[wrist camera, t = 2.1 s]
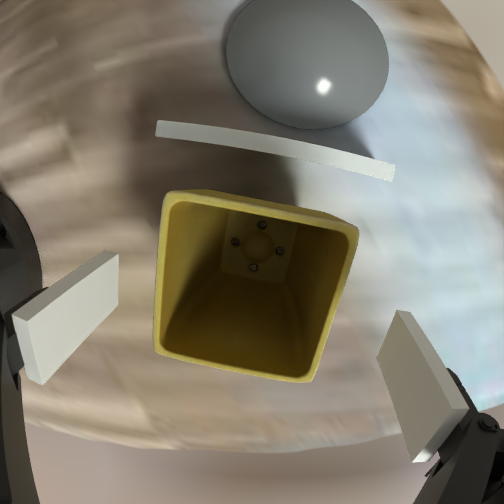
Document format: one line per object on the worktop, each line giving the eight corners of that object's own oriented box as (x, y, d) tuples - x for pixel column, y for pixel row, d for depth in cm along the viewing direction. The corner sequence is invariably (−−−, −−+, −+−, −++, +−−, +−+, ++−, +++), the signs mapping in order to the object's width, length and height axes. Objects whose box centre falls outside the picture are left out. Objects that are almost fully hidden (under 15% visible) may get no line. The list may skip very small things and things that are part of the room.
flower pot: (207, 171, 22) (162, 188, 13) (331, 196, 22) (363, 228, 13) (191, 285, 25) (151, 353, 16) (302, 308, 24) (311, 385, 16)
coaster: (214, 114, 20) (212, 112, 20) (243, -19, 17) (242, -24, 16) (372, 146, 20) (375, 146, 19) (391, 12, 17) (395, 8, 16)
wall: (175, 137, 21) (155, 136, 17) (178, 123, 21) (157, 120, 17) (373, 175, 21) (392, 182, 17) (376, 161, 20) (395, 165, 17)
